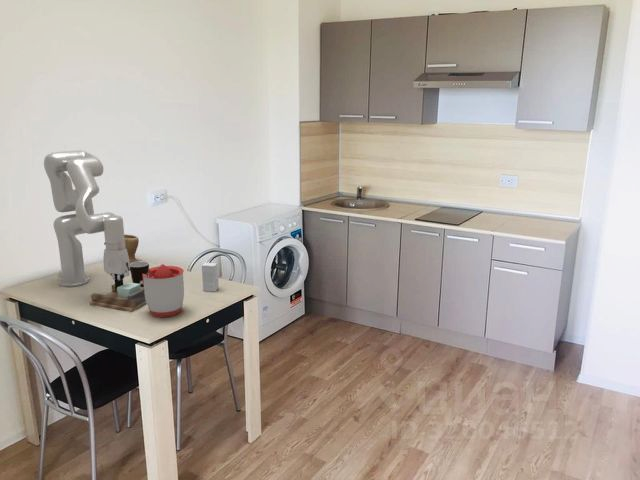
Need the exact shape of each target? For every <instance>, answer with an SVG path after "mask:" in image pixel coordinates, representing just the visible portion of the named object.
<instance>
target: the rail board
mask: <svg viewBox="0 0 640 480" xmlns="http://www.w3.org/2000/svg"><path fill="white" fill-rule="evenodd" d="M140 288H141V289H140V290H138V291H136V292H134V293H132V294H130V295H128V299H127V298H121V297H118V293H117V289H115V283H113V284H111V292H108V293H106V294H102V293H101V294H100V293H95V292H93V293H91V294H90V295H91V297H90V298H91V301H90V302H89V306H93V307H101V308H106V309H111V310H117V311H123V312H128V313H129V312H130V313H133V312H135V311H137V310H139V309H140V308H142V307H144V306H147V303H146V299H145V293H144V287H140Z"/></svg>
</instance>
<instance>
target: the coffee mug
mask: <svg viewBox="0 0 640 480" xmlns="http://www.w3.org/2000/svg"><path fill="white" fill-rule="evenodd" d="M138 261H139V260H138ZM148 269H150V262H148V261H143V260H142V261H141V260H140V261H139V262H133V263H130V271H129V273H130V276H131V280H132V283H137V284H140V282H141V281H143V277H142V274H146V275H147V276H148V277H149V272H148ZM140 288H144V286H143V284H140Z"/></svg>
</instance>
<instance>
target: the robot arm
mask: <svg viewBox="0 0 640 480" xmlns="http://www.w3.org/2000/svg"><path fill="white" fill-rule="evenodd" d="M43 166H44V170H45V173H46V175H47V178H48V180H49V183H50V189H51V195H52V201H53V205H54V208H55V210H56V211H57V212H58V213H69V212H75V213H71V214H64V215H61V216H58V217H57V218H55V219H54V221H53V229H54V232H55V233H54V234H55V236H56V240H57V245H58V251H59V260H60V261H59V262H60V268H61V271H58V273H57V274H56V277H58V278H60V280H59V281H58V284H59V286H61V287H65V288H66V287H67V288H70V287H71V288H72V287H73V288H74V287H79V286H83V285H85V284H86V285H87V284H88V283H89V282H90V278H89V276H86V273H85V263H84V254H83V253H84V252H83V245H82V243H81V241H80V240H79V239H78V238H77V236H78V235H79V236H80V235H83V234H88V235H89V234H90V235H91V234H97V233H104V243H103V244H104V245H103V246H105V248H104V251H103V271H104V273H107V274H108V275H109V276H111V277H112V280H113V281H114V284H115V289H117V287H119V286H121V285H124V279H125V277H126V278H127V277H129V276H131V273H130V262H129V256H128V252H127V249H126V248H125V237H124V234H125V229H124V227H125V226H124V218H123V217H122V216H121V215H116V214H115V213H113V212H110V211H108V212H102V213H101V212H100V213H95V210H94V203H93V198H94V197H95V196H97V195H98V194H99V193H100V187H99V185H98V183H97V181H96V179H95V177H100V176H102V175H103V173H104V170H105V169H104V165H103V162H102V161H101V159H99V158H98V157H97V156H95V155H93V154H92V153H89V152H87V151H84V150H67V151H66V150H65V151H64V150H63V151H56V152H51V153H48V154H47V155H46V156H45V157H44V160H43ZM67 173H68V174H67ZM73 186H74V188H75V189H74V188H73Z"/></svg>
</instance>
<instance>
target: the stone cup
mask: <svg viewBox="0 0 640 480" xmlns="http://www.w3.org/2000/svg"><path fill="white" fill-rule="evenodd" d="M124 237H125V248H126V249H127V252H128V256H129V262H130V263H133V262H139V259H137V258H136V253H137V250H138V247H139V243H140V242H139V237H138V236H136V235H132V234H125V233H124Z"/></svg>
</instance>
